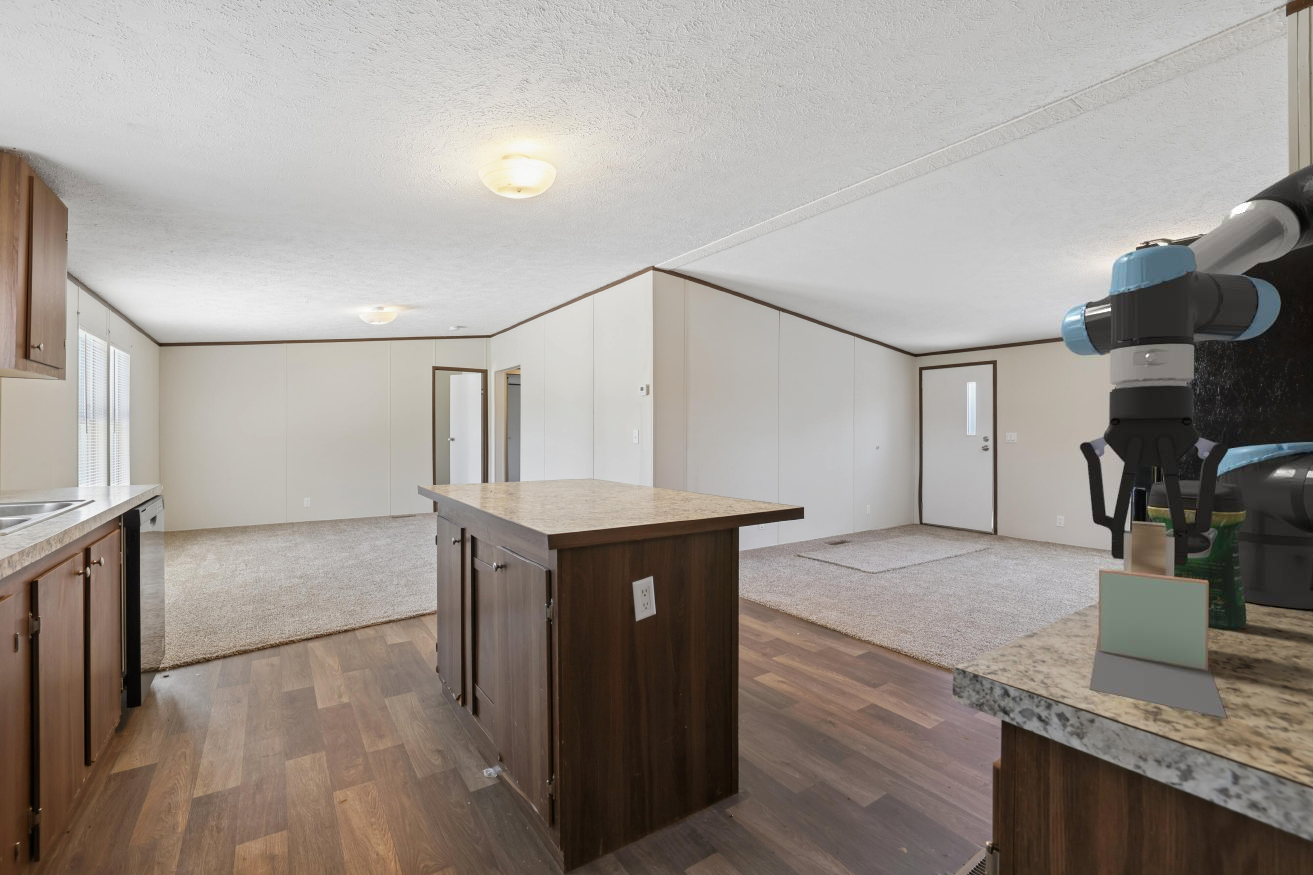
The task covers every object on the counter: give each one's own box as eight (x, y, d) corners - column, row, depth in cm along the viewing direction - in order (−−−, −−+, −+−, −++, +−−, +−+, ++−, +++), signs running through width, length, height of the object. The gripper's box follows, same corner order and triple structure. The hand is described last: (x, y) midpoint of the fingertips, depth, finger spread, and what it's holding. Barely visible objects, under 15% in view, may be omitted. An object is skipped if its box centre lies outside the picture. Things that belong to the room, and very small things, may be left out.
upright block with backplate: (1192, 595, 70) (1193, 525, 70) (1197, 610, 64) (1198, 533, 64) (1105, 584, 75) (1106, 519, 75) (1102, 597, 69) (1103, 526, 69)
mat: (1200, 645, 71) (1200, 641, 71) (1226, 723, 52) (1226, 717, 52) (1099, 629, 77) (1099, 625, 77) (1089, 694, 58) (1089, 688, 58)
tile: (1206, 667, 63) (1207, 580, 63) (1208, 671, 62) (1208, 582, 62) (1098, 648, 69) (1099, 568, 68) (1098, 651, 67) (1099, 570, 67)
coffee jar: (1251, 625, 79) (1252, 481, 79) (1238, 637, 74) (1239, 484, 74) (1157, 608, 87) (1158, 477, 87) (1139, 618, 82) (1141, 479, 82)
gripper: (1063, 386, 72) (1061, 585, 72) (1252, 380, 62) (1249, 610, 62) (1068, 390, 78) (1066, 574, 78) (1242, 385, 68) (1239, 595, 68)
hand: (1147, 589), depth 70 cm, fingers closed on upright block with backplate, 3 cm apart
